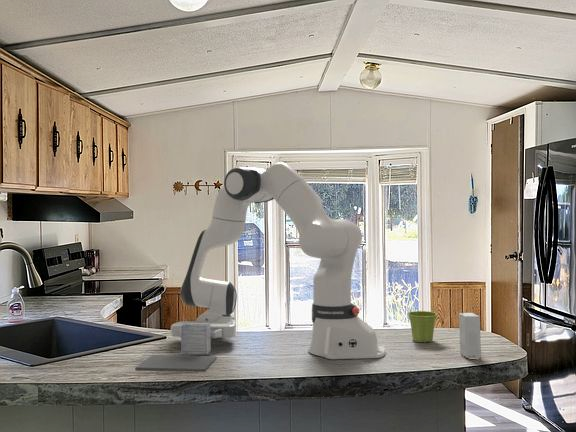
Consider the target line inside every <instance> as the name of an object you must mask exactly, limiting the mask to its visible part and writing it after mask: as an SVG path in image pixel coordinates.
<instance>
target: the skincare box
mask: <svg viewBox="0 0 576 432" xmlns="http://www.w3.org/2000/svg"><path fill="white" fill-rule="evenodd" d="M458 325H459V327H458V328H459V330H458V331H459V346H460V347H459V350H460V351H459V352H460V353H461V354H462V355H463V356H462V355H461V354H460V355H461V356H462V357H464V356H465V357H466V358H481V359H482V343H481V316H479V315H477V314H475V313H474V312H459V313H458ZM465 357H464V358H465ZM466 358H465V359H466Z"/></svg>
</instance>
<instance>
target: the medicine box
mask: <svg viewBox="0 0 576 432" xmlns="http://www.w3.org/2000/svg"><path fill="white" fill-rule="evenodd" d="M211 341H212V340H210V323H184V324H183V325H182V326H181V338H180V342H181V343H180V347H181V348H180V349H181V355H187V356H209V355H208V354H210V352H211V351H212V347H211V345H212V344H211Z"/></svg>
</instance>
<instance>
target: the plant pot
mask: <svg viewBox="0 0 576 432" xmlns="http://www.w3.org/2000/svg"><path fill="white" fill-rule="evenodd" d="M406 315H407V316H408V319H409V324H410V329H411V337H412V341H415V342H416V343H422V342H424V343H427V342H428V343H431V342H433V338H434V332H435V331H434V330H435V323H436V320H437V316H439V315H438V313H437V312H435V311H434V312H433V311H426V310H418V311H417V310H415V311H409V312H407V314H406Z"/></svg>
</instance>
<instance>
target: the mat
mask: <svg viewBox="0 0 576 432" xmlns="http://www.w3.org/2000/svg"><path fill="white" fill-rule="evenodd" d="M217 359H218V358H217V356H216V355H214V356H211V355H175V354H174V355H172V354H167V355H166V354H151V355H149V357H147V358H146V359H145V360H143V361H142V362H141V363H139V364H138V365H136V366H135V367H134V368H135V371H169V372H171V371H173V372H174V371H175V372H206V371H207V370H208V369H209V368H210V367H211V366H212V365H213V363H214V362H215V361H216V360H217Z"/></svg>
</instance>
